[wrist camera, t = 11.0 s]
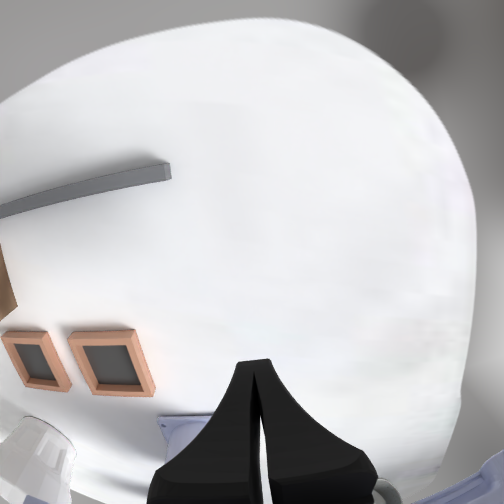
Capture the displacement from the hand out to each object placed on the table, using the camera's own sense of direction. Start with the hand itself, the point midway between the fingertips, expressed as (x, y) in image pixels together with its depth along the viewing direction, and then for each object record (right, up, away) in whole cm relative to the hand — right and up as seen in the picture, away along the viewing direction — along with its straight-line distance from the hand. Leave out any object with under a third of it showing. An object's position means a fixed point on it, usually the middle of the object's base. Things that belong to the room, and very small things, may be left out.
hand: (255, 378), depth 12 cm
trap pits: (-16, -4, +10) cm, 20 cm away
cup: (-26, -18, +15) cm, 35 cm away
